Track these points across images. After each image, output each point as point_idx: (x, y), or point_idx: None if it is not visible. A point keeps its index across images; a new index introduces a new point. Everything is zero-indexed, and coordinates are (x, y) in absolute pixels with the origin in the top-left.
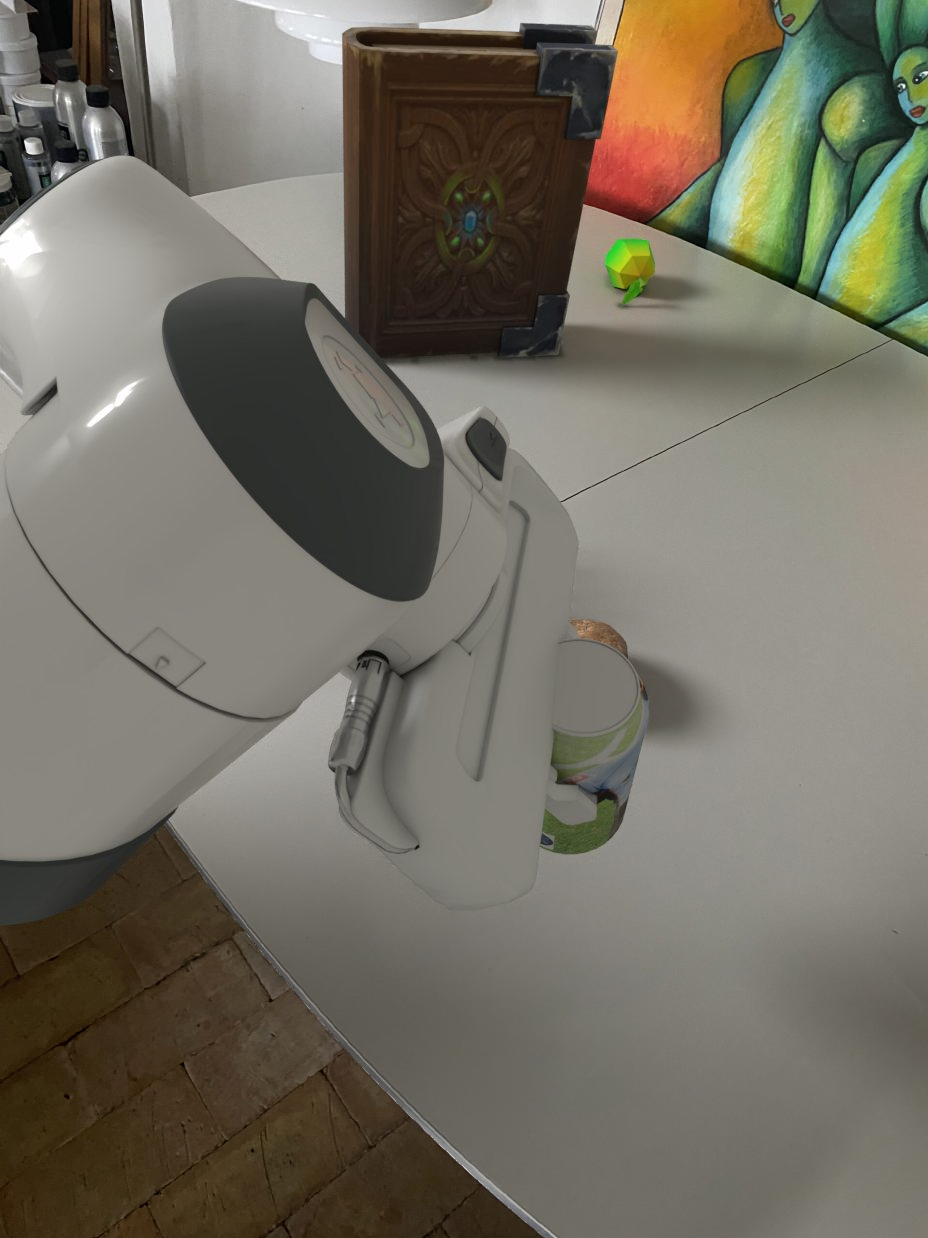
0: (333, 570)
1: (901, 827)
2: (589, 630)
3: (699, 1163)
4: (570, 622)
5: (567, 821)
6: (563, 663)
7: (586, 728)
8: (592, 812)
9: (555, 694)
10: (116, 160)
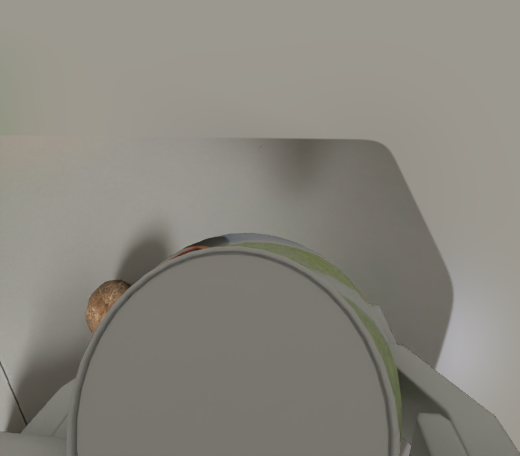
0: None
1: (208, 143)
2: (95, 309)
3: (396, 223)
4: (88, 323)
5: None
6: None
7: (367, 384)
8: (381, 311)
9: None
10: None
